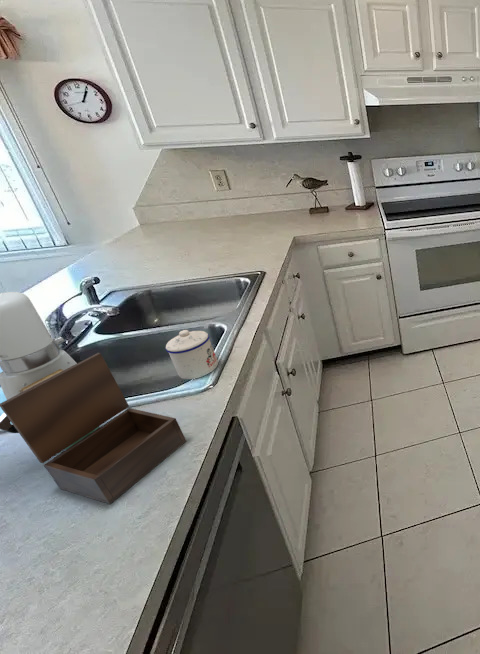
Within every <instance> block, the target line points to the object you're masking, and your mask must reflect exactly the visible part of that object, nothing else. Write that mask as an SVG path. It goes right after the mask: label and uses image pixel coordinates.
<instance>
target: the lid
mask: <svg viewBox="0 0 480 654" xmlns="http://www.w3.org/2000/svg"><path fill="white" fill-rule="evenodd" d="M76 363H77V364H75V365H73V366H71V367H70V368H68V369H66V370H62V369H59V370H57V371H55V372H53V373H51V374H49V375H47V376H45V377H43V378H41V379H40V380H38V381H36V382H34V383H32V384H30V385H28V386H26V387H24V388H22V389H20V390H19V392H20V394H18V395H16V396H14V397H12V398H10V399H8V400H7V399H6V400H5V401H2V402H0V409H1V410H2V412H3V413H5V414H6V416H7V417H8V418H9V420H10V421H11V422H10V423H11V424H12V425H14V427H15V428H16V430H17V431H18V432H19V433H18V434H19V435H20V437H21V438H22V440H23V441H24V442H25V443H26V445H27V446H28V449H30V451H31V453H33V455H34V456H35V458H36V459H37V460H38V462H39V463H41V464H45V463H47V462H48V461H50V460H51V459H53V458H54V457H56V456H57V455H59V454H60V453H62V452H63V451H65V450H64V449H66V448H67V447H69V446H70V445H72V444H73V443H75V442H76V441H78V440H79V439H81V438H82V437H84V436H85V435H87V434H88V433H90V432H91V431H93V430H94V429H96V428H97V427H99V426H100V427H101V426H103V425H104V424H106V423H107V422H109V421H110V420H112V419H113V418H115V417H116V416H118V415H119V414H121V413H122V412H124V411H125V410H127V409H128V408H130V405H129V403H128V400H126V397H125V395H124V394H123V392H122V390H121V388H120V386H119V384H118V383H117V381H116V379H115V377H114V375H113V373H112V371H111V370H110V368H109V366H108V364H107V363H106V361H105V359H104V356H103V355H102V354H101V352H97V353H95V354H93V355H91V356H89V357H87V358H85V359H82V360H81V361H79V362H76Z"/></svg>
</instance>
